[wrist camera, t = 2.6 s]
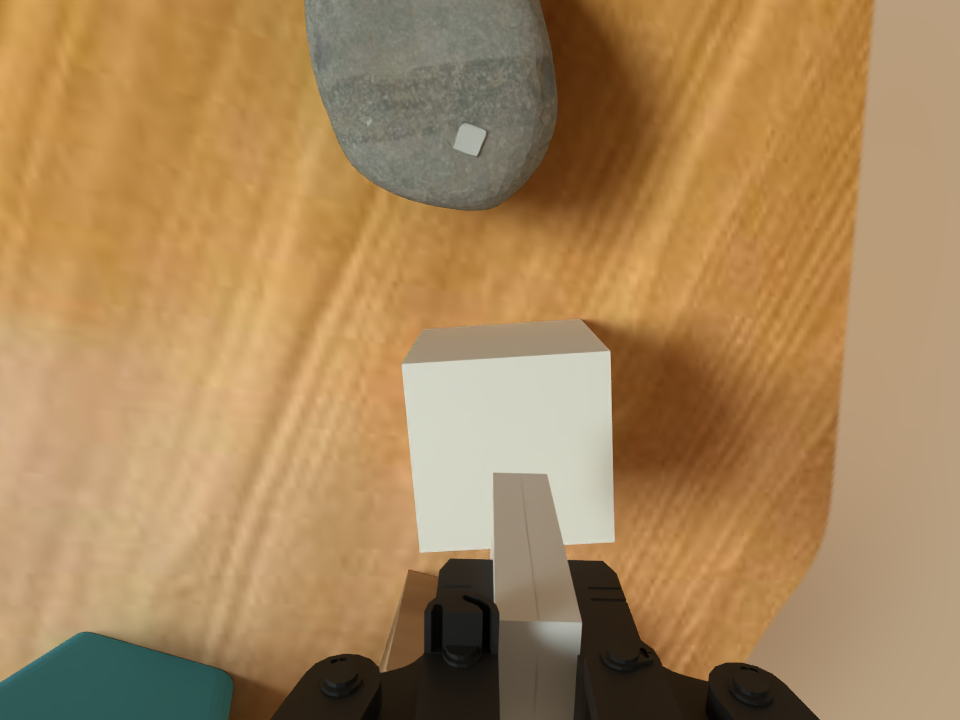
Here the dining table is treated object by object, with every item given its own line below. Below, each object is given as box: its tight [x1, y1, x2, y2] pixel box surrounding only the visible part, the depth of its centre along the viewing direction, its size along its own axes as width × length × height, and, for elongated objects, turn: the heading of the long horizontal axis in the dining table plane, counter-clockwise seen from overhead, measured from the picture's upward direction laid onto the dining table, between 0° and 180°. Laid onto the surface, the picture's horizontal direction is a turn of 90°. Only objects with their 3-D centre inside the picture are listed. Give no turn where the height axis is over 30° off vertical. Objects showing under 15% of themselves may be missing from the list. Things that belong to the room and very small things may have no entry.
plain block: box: [402, 319, 615, 553], centre depth 25 cm, size 7×7×7 cm
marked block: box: [379, 570, 438, 673], centre depth 28 cm, size 7×7×7 cm
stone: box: [305, 0, 558, 211], centre depth 23 cm, size 9×9×10 cm
